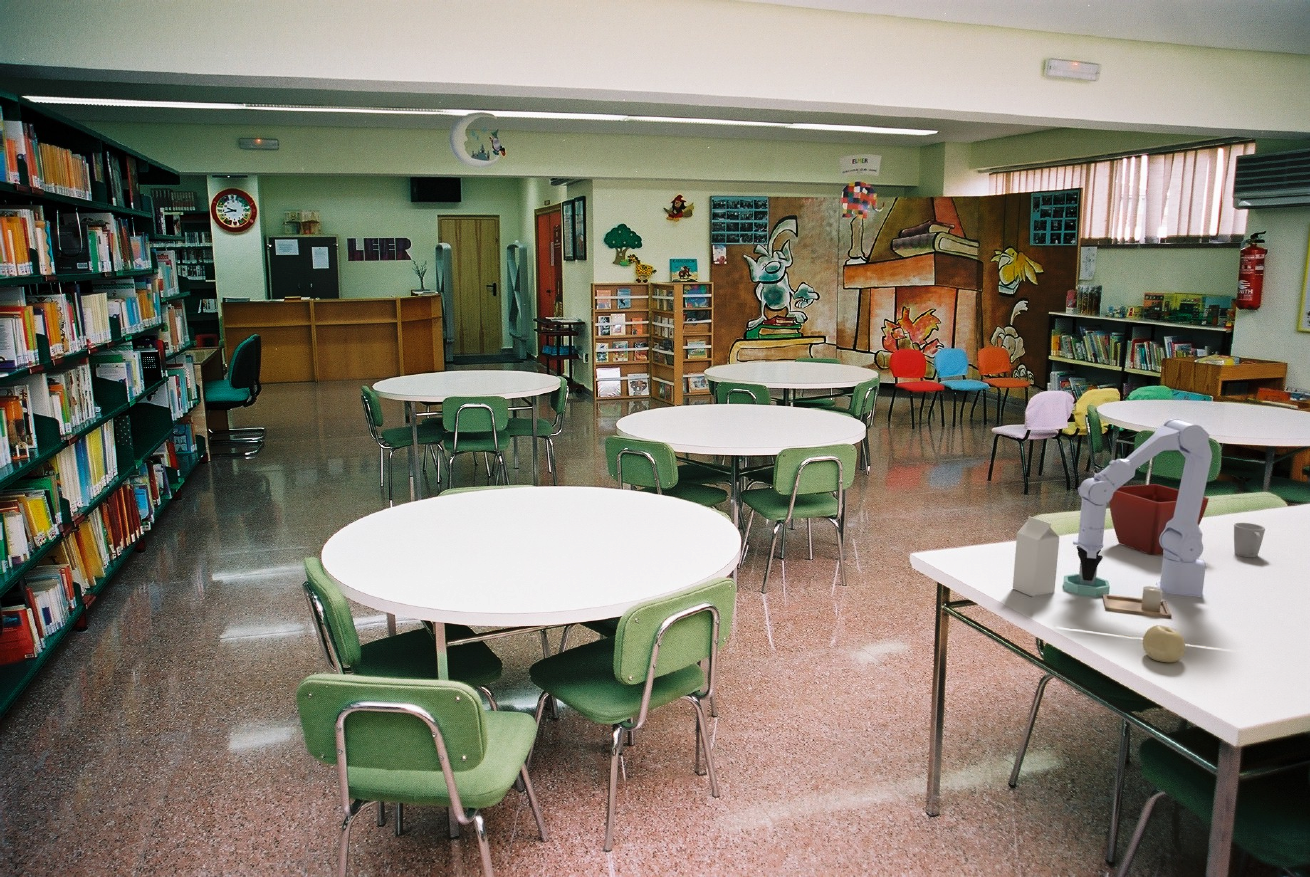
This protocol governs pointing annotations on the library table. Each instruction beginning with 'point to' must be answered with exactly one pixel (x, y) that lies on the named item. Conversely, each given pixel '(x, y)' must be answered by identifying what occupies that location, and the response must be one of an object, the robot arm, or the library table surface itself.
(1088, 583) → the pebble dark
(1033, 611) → the library table surface
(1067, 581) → the dish
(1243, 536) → the cup
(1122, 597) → the tray
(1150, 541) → the plant pot
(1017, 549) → the milk carton
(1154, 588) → the pebble light
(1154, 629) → the apple
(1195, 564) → the robot arm
